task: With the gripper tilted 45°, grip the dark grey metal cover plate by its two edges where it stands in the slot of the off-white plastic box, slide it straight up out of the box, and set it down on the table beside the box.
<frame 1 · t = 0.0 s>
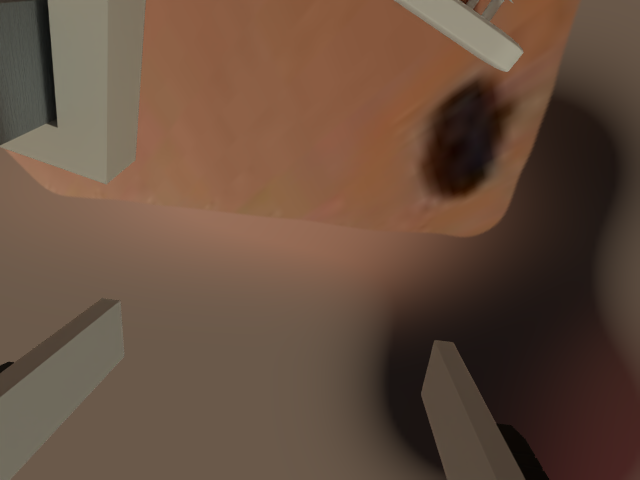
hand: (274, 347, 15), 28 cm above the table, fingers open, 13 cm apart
cover plate: (69, 52, 33), point 1 cm above the table, touching slotted box
slotted box: (79, 49, 35), on the table
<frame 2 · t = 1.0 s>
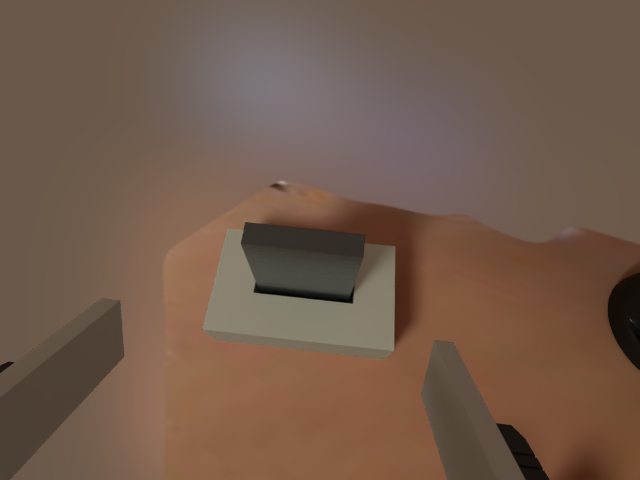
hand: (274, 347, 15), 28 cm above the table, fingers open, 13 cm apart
cover plate: (305, 297, 43), point 1 cm above the table, touching slotted box
slotted box: (305, 300, 45), on the table
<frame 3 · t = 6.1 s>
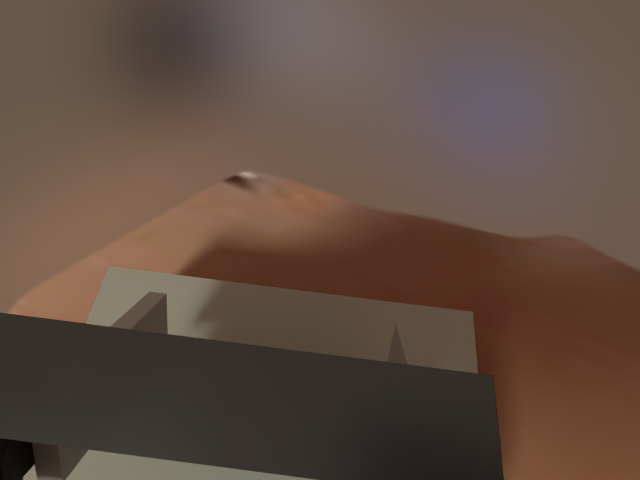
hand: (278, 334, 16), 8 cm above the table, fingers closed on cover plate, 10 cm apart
cover plate: (276, 411, 21), point 2 cm above the table, touching gripper, slotted box
slotted box: (278, 411, 22), on the table
when the fingers open (9 cm above the table, at t = 13.7 s): cover plate drops 2 cm, on the table.
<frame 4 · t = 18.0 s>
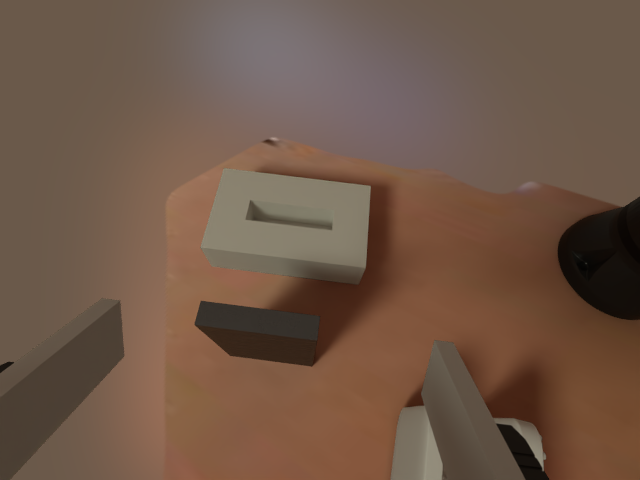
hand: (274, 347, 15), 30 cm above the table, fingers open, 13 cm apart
cover plate: (272, 352, 43), on the table
slotted box: (291, 236, 50), on the table
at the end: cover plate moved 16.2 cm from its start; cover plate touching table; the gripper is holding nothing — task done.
